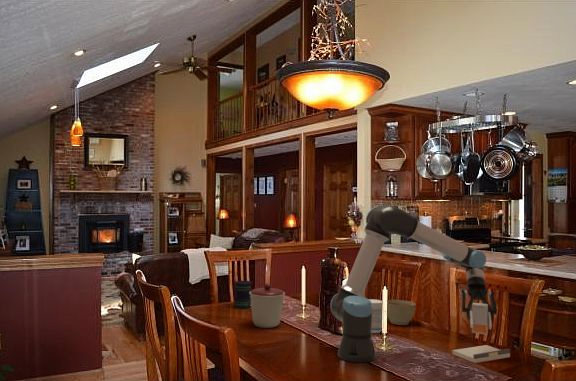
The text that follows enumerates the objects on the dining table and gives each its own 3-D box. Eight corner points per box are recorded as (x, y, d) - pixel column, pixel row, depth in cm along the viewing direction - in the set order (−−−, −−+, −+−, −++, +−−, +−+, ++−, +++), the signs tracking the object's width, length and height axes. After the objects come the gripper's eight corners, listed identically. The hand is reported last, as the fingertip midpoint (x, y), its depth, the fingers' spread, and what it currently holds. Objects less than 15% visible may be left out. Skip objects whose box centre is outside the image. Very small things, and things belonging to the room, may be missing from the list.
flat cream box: (475, 363, 186) (475, 355, 186) (452, 354, 197) (452, 346, 197) (510, 357, 195) (510, 349, 195) (486, 348, 206) (486, 341, 206)
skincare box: (471, 333, 197) (471, 304, 197) (472, 330, 200) (472, 302, 201) (487, 334, 194) (487, 305, 194) (487, 332, 198) (487, 303, 198)
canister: (243, 328, 230) (244, 285, 230) (254, 319, 247) (255, 279, 248) (279, 331, 225) (280, 287, 226) (288, 322, 243) (289, 281, 243)
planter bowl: (421, 326, 243) (422, 304, 243) (395, 328, 237) (395, 306, 237) (403, 318, 258) (403, 298, 258) (378, 320, 252) (378, 300, 252)
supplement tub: (387, 332, 229) (387, 301, 229) (372, 334, 224) (373, 303, 224) (373, 327, 237) (373, 298, 238) (359, 330, 232) (359, 300, 232)
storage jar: (254, 307, 278) (254, 281, 278) (244, 310, 269) (244, 283, 270) (240, 304, 283) (241, 280, 283) (230, 307, 275) (231, 282, 275)
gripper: (498, 287, 210) (505, 333, 194) (452, 284, 215) (455, 329, 199) (500, 277, 205) (508, 323, 189) (453, 274, 210) (457, 319, 194)
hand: (481, 326), depth 194 cm, fingers closed on skincare box, 6 cm apart
